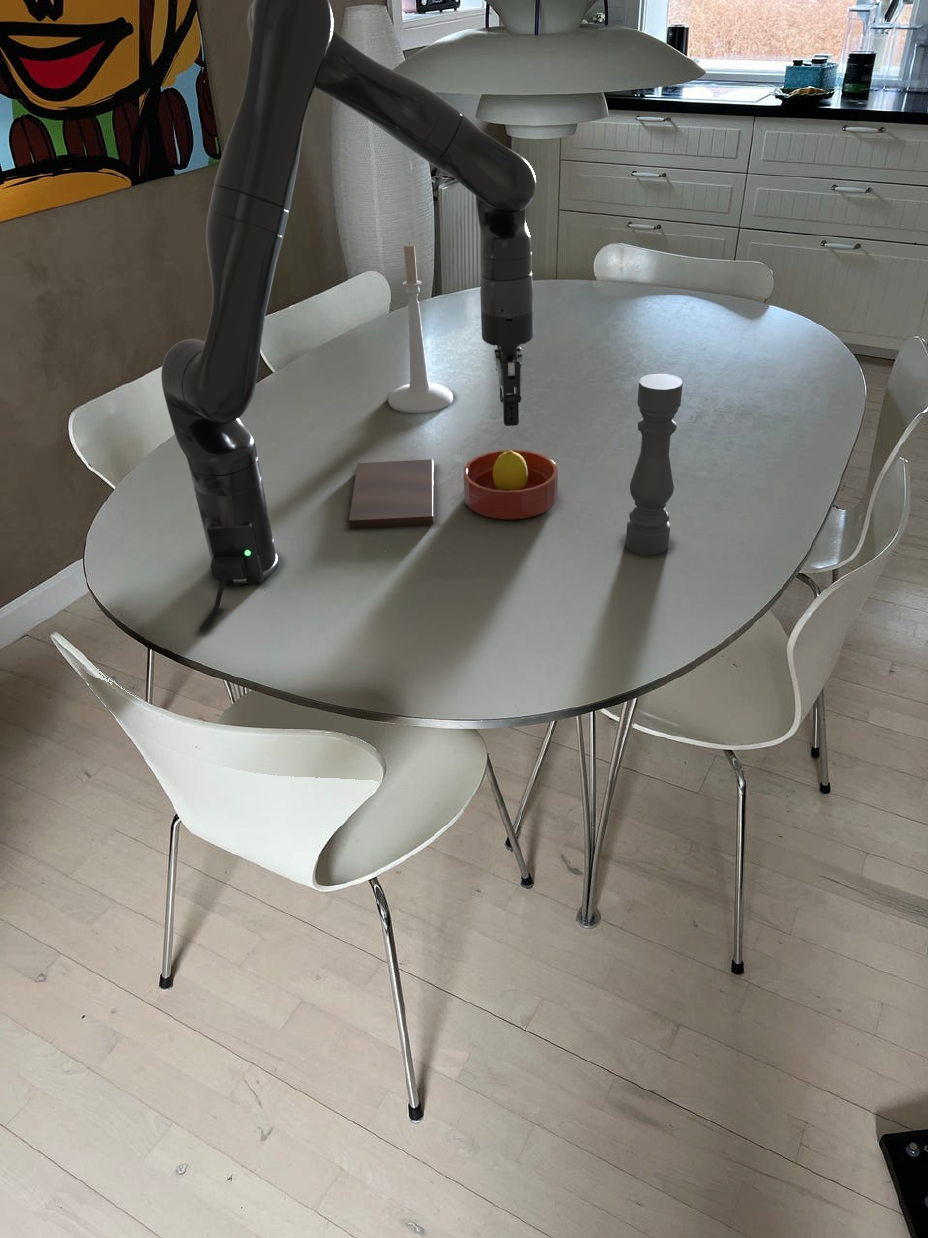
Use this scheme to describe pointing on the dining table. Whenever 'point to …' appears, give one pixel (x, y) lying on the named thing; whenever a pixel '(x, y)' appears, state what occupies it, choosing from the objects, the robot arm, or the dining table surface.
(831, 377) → the dining table surface
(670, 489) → the candle holder
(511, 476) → the lemon
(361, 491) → the board
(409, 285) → the candlestick
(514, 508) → the bowl
